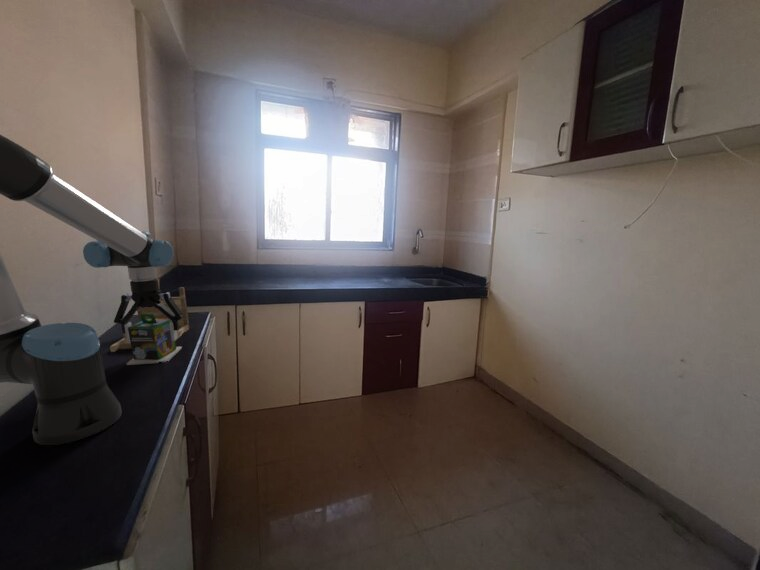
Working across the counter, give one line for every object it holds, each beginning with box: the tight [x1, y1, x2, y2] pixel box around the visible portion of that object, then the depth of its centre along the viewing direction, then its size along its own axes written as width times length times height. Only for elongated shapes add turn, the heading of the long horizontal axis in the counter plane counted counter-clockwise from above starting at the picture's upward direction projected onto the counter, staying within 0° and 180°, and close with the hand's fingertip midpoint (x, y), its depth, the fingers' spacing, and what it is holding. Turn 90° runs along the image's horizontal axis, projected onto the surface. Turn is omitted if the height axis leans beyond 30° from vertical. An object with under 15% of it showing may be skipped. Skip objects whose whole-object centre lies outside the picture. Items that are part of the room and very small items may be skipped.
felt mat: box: [126, 346, 183, 366], centre depth 114 cm, size 12×12×1 cm
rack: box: [109, 286, 190, 353], centre depth 128 cm, size 22×18×18 cm
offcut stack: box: [119, 332, 132, 350], centre depth 123 cm, size 4×14×6 cm, turn 100°
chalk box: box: [128, 314, 177, 360], centre depth 113 cm, size 9×9×15 cm
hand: (153, 340), depth 113 cm, fingers open, 13 cm apart
